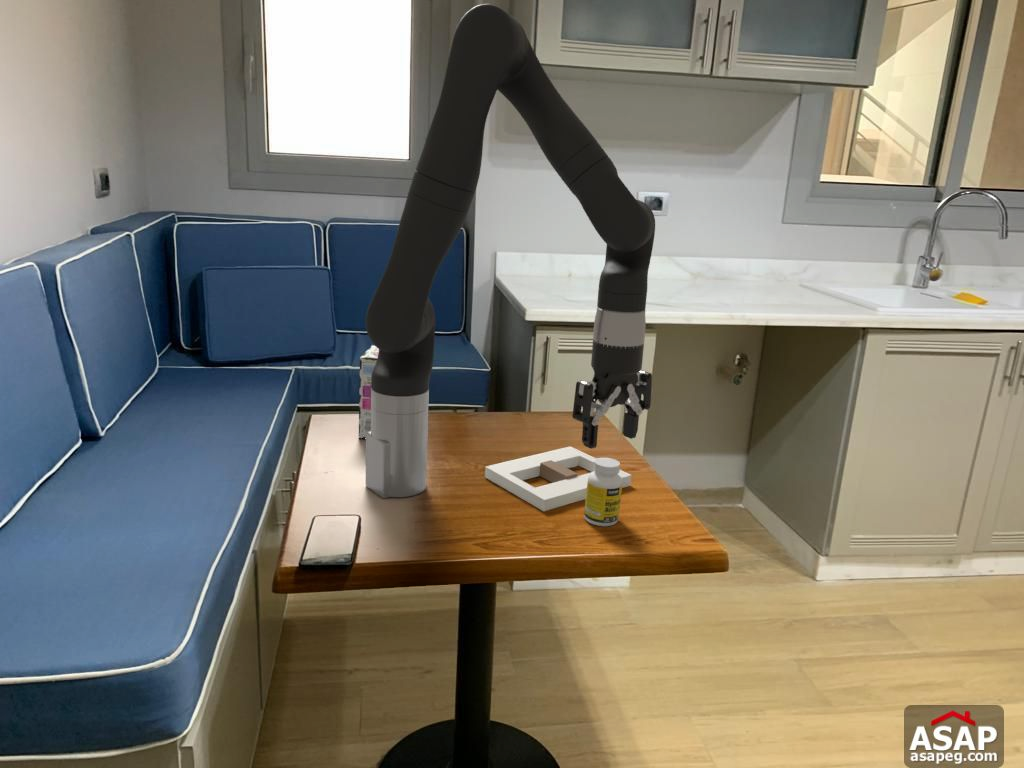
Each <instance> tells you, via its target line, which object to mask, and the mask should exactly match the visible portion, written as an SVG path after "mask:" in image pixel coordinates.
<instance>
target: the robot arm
mask: <svg viewBox="0 0 1024 768" xmlns="http://www.w3.org/2000/svg"><path fill="white" fill-rule="evenodd" d="M453 33H454V34H453V37H452V41H451V44H450V51H449V55H448V60H447V64H446V68H445V69H446V70H445V74H444V79H443V83H442V89H441V92H440V96H439V100H438V104H437V106H436V109H435V112H434V115H433V118H432V120H431V123H430V126H429V129H428V131H427V134H426V137H425V141H424V145H423V148H422V150H421V153H420V156H419V159H418V161H417V165H416V167H415V171H414V173H413V177H412V179H411V183H410V185H409V188H408V192H407V195H406V200H405V203H404V207H403V211H402V213H401V217H400V220H399V224H398V227H397V230H396V234H395V237H394V241H393V242H394V243H393V246H392V249H391V254H390V257H389V259H388V263H387V265H386V267H385V269H384V272H383V274H382V276H381V279H380V281H379V283H378V286H377V288H376V290H375V292H374V293H373V296H372V299H371V301H370V303H369V305H368V308H367V311H366V313H365V328H366V329H365V330H366V333H367V336H368V338H369V340H370V341H371V343H372V345H373V346H376V347H377V348H378V349H379V354H378V358H377V361H376V364H375V367H374V369H373V371H372V376H371V431H369V432H367V433H366V439H365V487H367V488H368V489H370V490H371V491H372V492H374V493H375V494H377V495H378V496H379V497H381V499H387V498H408V497H413V496H416V495H418V494H421V493H422V492H424V491H425V490H426V489H427V488H426V487H427V475H428V474H427V467H428V466H427V465H428V463H427V461H428V459H427V458H428V431H429V430H428V429H429V427H428V425H429V397H430V396H429V395H430V394H429V393H430V378H431V374H432V371H433V365H434V353H435V338H436V335H435V334H436V315H435V309H434V306H433V303H432V302H431V300H430V298H429V295H430V291H431V289H432V286H433V282H434V280H435V277H436V274H437V272H438V270H439V268H440V266H441V264H442V263H443V261H444V258H446V255H447V254H448V252H449V251H450V249H451V248H452V246H453V244H454V242H455V240H456V239H457V237H458V235H459V233H460V231H461V229H462V227H463V225H464V222H465V221H466V219H467V215H468V213H469V210H470V208H471V205H472V202H473V198H474V196H475V194H476V191H477V187H478V182H479V179H480V175H481V168H482V162H483V161H482V160H483V147H484V137H485V136H484V135H485V129H486V124H487V123H486V122H487V118H488V115H489V112H490V108H491V107H492V103H493V101H494V99H495V96H496V93H497V91H499V93H501V94H502V95H503V96H504V98H506V100H507V101H509V103H510V104H511V105H512V106H513V107H514V109H515V110H517V112H518V113H519V115H520V116H521V118H522V119H523V120H524V122H525V123H526V125H527V126H528V128H529V130H530V132H531V133H532V135H533V137H534V139H535V140H536V142H537V144H538V146H539V147H540V150H541V152H542V153H543V155H544V156H545V158H546V160H547V161H548V162H549V164H550V165H551V167H552V168H553V169H554V171H555V172H556V174H557V175H558V176H559V178H560V179H561V181H562V182H563V183H564V184H565V185H566V188H568V190H569V191H570V192H571V193H572V194H573V195H574V196H575V197H576V198H577V200H578V201H579V203H580V205H581V207H582V209H583V212H584V213H585V214H586V216H587V218H588V220H589V221H590V223H591V225H592V226H593V228H594V230H595V231H596V233H597V234H598V235H599V236H600V238H601V239H602V240H603V242H604V243H606V247H605V248H606V249H605V261H604V266H603V269H602V271H601V272H600V275H599V277H600V278H599V281H598V290H597V292H598V293H597V304H596V305H597V307H596V311H595V312H596V313H595V316H594V324H593V336H592V348H591V349H592V350H591V361H590V366H591V368H592V369H593V377H592V380H591V381H584V380H581V379H578V380H577V381H576V382H575V383H576V384H575V391H574V398H573V399H574V400H573V409H572V419H573V420H576V421H579V422H581V423H582V433H581V434H582V435H581V441H582V444H583V446H585V448H588V449H590V450H591V449H595V448H597V446H598V445H597V444H598V431H599V425H598V423H599V422H600V420H601V419H602V416H604V414H607V413H608V411H609V409H610V408H612V407H616V406H617V405H621V406H623V407H624V410H625V411H626V412H623V413H624V415H623V417H624V418H623V426H622V435H623V436H624V437H625V438H628V439H635V438H636V437H637V433H638V431H639V430H638V429H639V419H640V416H641V414H642V413H643V411H644V410H645V411H648V410H649V409H650V408H651V402H652V401H651V400H652V397H651V396H652V384H653V375H652V373H650V372H648V371H645V370H642V369H643V360H644V347H645V339H646V338H645V337H646V327H647V326H646V324H647V323H646V306H647V295H648V277H649V276H648V275H649V267H650V265H651V264H650V263H651V260H652V253H653V247H654V241H655V234H656V233H655V232H656V219H655V215H654V212H653V210H652V208H651V207H650V206H649V205H648V204H646V203H645V202H644V201H642V200H639V199H636V198H635V195H633V194H632V193H631V191H630V190H629V188H628V187H627V186H626V185H625V183H624V182H623V181H622V179H621V177H620V176H619V174H618V170H617V168H616V166H615V164H614V163H613V160H612V159H611V158H610V157H609V155H608V154H607V153H606V152H605V150H604V148H603V147H602V146H601V144H600V143H599V142H598V140H597V139H596V138H595V137H594V135H593V134H592V132H590V130H589V128H587V127H586V126H585V124H584V123H583V122H582V120H581V119H580V118H579V116H577V113H575V112H574V111H573V109H572V108H571V107H570V106H569V104H568V103H567V102H566V101H565V100H564V98H563V97H562V95H561V94H560V93H559V91H558V89H557V88H556V87H555V86H554V84H553V82H552V81H551V80H550V78H549V76H548V74H547V72H546V71H545V69H544V67H543V66H542V64H541V62H540V60H539V58H538V56H537V54H536V53H535V50H534V48H533V47H532V45H531V42H530V40H529V39H528V36H527V34H526V31H525V30H524V27H523V26H522V25H521V24H520V22H519V21H518V20H517V19H516V18H514V17H513V15H511V14H510V13H508V12H507V11H506V10H505V9H503V8H502V7H500V6H497V5H496V4H491V3H482V4H478V5H475V6H474V7H472V8H471V9H469V10H468V11H467V12H465V14H464V15H463V16H462V17H461V18H460V20H459V22H458V24H457V25H456V27H455V30H454V32H453ZM642 395H643V399H642ZM597 402H599V403H600V404H598V403H597Z"/></svg>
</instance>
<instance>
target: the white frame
mask: <svg viewBox="0 0 1024 768" xmlns="http://www.w3.org/2000/svg"><path fill="white" fill-rule="evenodd" d="M596 459H597V458H596V457H594V456H592V455H589V454H587V453H585V452H583V451H581V450H579V449H577V448H575V447H572V446H571V445H570V446H566V447H561V448H557V449H553V450H549V451H544V452H542V453H541V452H540V453H536V454H532V455H528V456H525V457H520V458H516V459H510V460H506V461H502V462H499V463H495V464H490V465H486V466H485V467H484V468H485V469H484V478H485V479H488V480H489V481H490V482H492V483H494V484H496V485H498V486H499V487H501V488H503V489H505V490H506V491H508V492H510V493H511V494H514V495H515V496H516V497H518V498H519V499H522V500H524V501H525V502H527V503H529V504H530V505H532V506H534V507H535V508H537V509H539V510H540V511H542V512H547V511H550V510H553V509H556V508H557V509H558V508H561V507H563V506H567V505H570V504H573V503H576V502H580V501H583V500H584V501H585V500H586V492H587V482H588V476H589V474H590V473H591V472H593V471H594V461H595V460H596ZM575 467H581V468H583V469H585V470H587V471H589V473H584V474H580V475H578V473H577V472H575V471H574V470H571V468H575ZM618 474H619V475H620V476H621V478H622V480H623V483H622V489H623V488H626V487H630V486H631V484H632V474H630V473H628V472H626V471H624V470H622V469H620V471H619V473H618ZM536 477H537V478H538V477H540V478H543V479H544V480H546V481H549V482H550V483H548V484H544V485H540V486H536V487H534V486H533V485H531V484H529V483H528V482H526V480H529V479H533V478H536Z"/></svg>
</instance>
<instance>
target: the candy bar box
mask: <svg viewBox="0 0 1024 768" xmlns="http://www.w3.org/2000/svg"><path fill="white" fill-rule="evenodd" d="M378 354H379V349H378V348H377V347H376V346H375V345H374V344H372V345H371V346H370V347H368V349H367V350H366V351H365V352H364V353H363V354H362V355H361V356H360V357H359V384H358V385H359V388H358V389H359V396H358V398H359V399H358V400H359V402H358V437H359V438H366V433H367V432H369V431H371V376H372V371H373V369H374V367H375V364H376V361H377V358H378ZM359 438H358V439H359Z"/></svg>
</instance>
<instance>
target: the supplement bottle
mask: <svg viewBox="0 0 1024 768" xmlns="http://www.w3.org/2000/svg"><path fill="white" fill-rule="evenodd" d="M620 470H621V463H620V461H618V460H617V459H615V458H610V457H597V458H596V460H595V461H594V471H593V472H589V473H590V474H589V476H588V482H587V492H586V499H585V502H584V513H583V516H584V517H583V518H584V519H585V521H587V522H588V523H589V524H592V525H595V526H598V527H611V526H614V525H615V524H617V523H618V521H619V516H620V509H621V501H622V491H623V488H622V483H623V480H622V478H621V476H620V475H619V474H618V473H619V471H620Z"/></svg>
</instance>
